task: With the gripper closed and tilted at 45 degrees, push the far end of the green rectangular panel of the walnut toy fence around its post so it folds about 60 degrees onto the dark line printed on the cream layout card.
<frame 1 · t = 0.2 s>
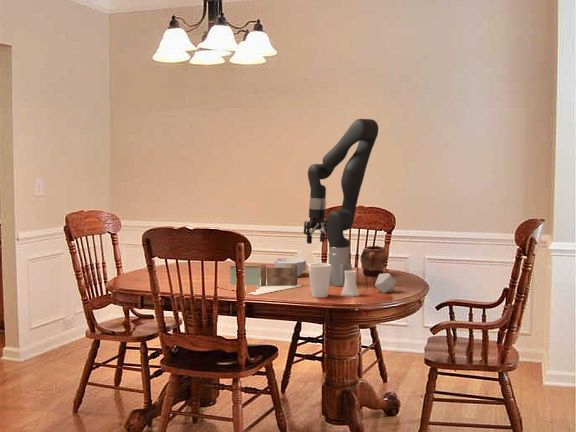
hand: (315, 242, 318), 18 cm above the table, tool pointing down, fingers open, 8 cm apart
layout card: (259, 286, 306), on the table
salt shaker: (350, 295, 288), on the table
die: (385, 292, 293), on the table
paper bowls: (290, 276, 333), on the table
green rectangular panel: (245, 275, 307), point 5 cm above the table, hinge at 0.0°
foam cup: (319, 296, 286), on the table
decorative planter: (373, 276, 331), on the table
fence post and fixed section: (263, 286, 307), resting on layout card
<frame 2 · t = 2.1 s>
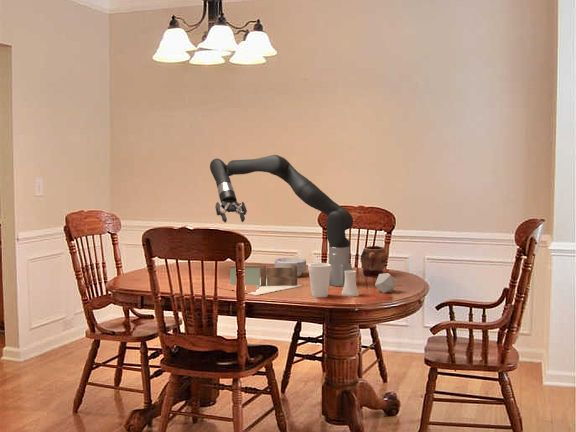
hand: (234, 221, 321), 28 cm above the table, tool tilted 40°, fingers open, 8 cm apart
nothing on the table moved.
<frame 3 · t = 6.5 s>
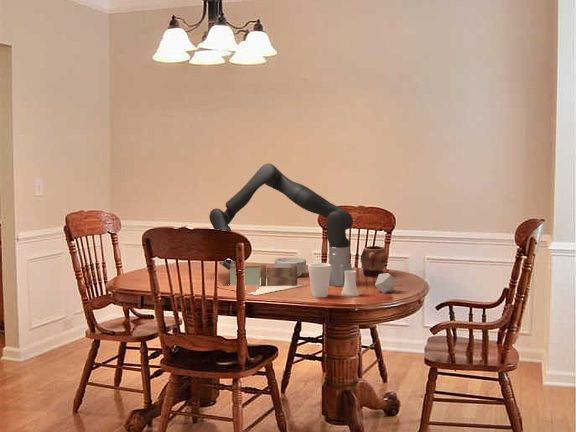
hand: (238, 275, 308), 5 cm above the table, tool tilted 45°, fingers closed
green rectangular panel: (245, 275, 307), point 5 cm above the table, hinge at 0.0°, touching gripper
everything else where it was.
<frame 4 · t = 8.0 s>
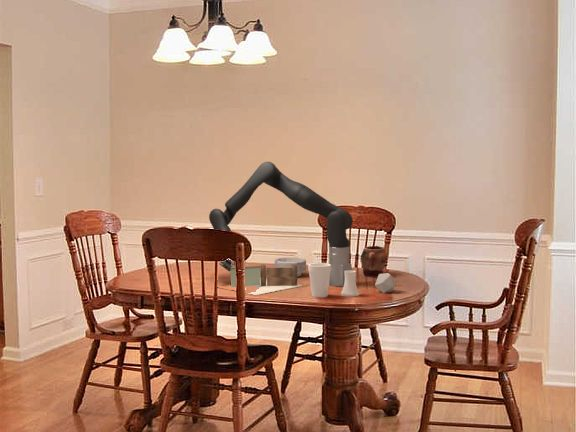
hand: (238, 277, 305), 5 cm above the table, tool tilted 45°, fingers closed
green rectangular panel: (245, 276, 304), point 5 cm above the table, hinge at 17.9°, touching gripper
everything else where it was.
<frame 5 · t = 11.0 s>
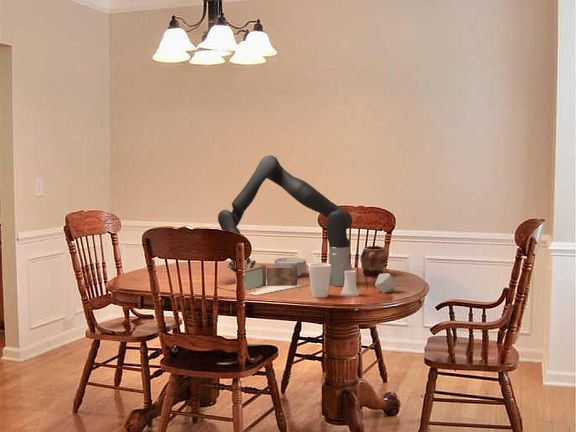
hand: (247, 280, 298), 4 cm above the table, tool tilted 45°, fingers closed
green rectangular panel: (253, 278, 300), point 5 cm above the table, hinge at 60.7°, touching gripper
everything else where it was.
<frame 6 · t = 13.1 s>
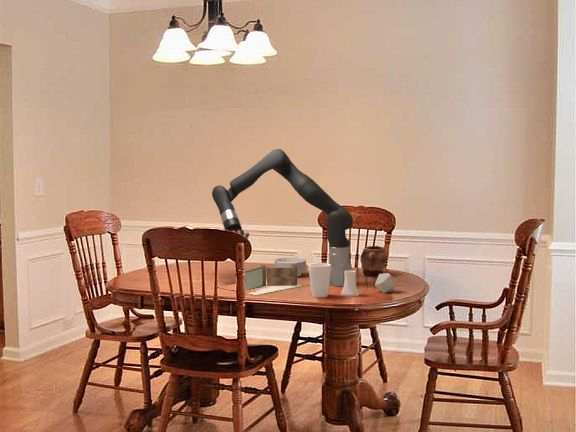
hand: (241, 251, 306), 16 cm above the table, tool tilted 45°, fingers closed
green rectangular panel: (253, 278, 300), point 5 cm above the table, hinge at 60.9°
everything else where it was.
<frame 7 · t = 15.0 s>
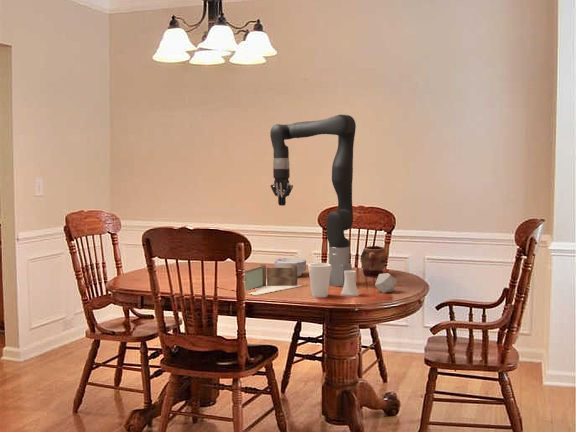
hand: (282, 205, 321), 35 cm above the table, tool pointing down, fingers closed
nothing on the table moved.
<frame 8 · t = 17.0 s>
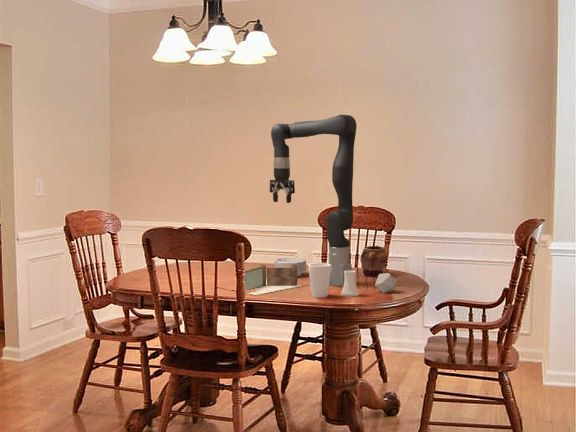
hand: (282, 202, 321), 36 cm above the table, tool pointing down, fingers open, 8 cm apart
nothing on the table moved.
at the end: green rectangular panel at +61° (first picture: +0°); foam cup moved 0.2 cm from its start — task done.
